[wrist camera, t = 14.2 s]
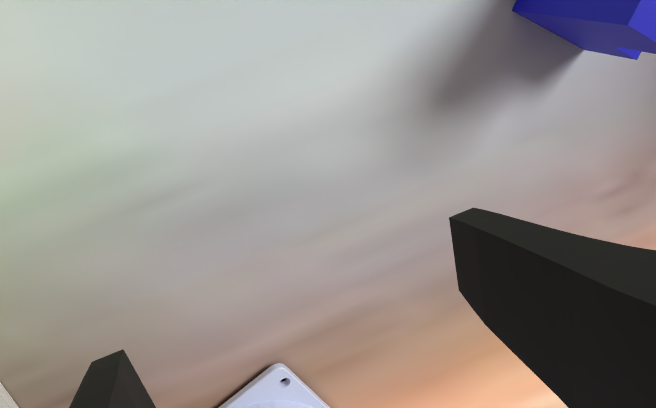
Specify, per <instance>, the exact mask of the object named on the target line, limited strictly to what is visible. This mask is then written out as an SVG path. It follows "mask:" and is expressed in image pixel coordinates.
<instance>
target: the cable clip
mask: <svg viewBox="0 0 656 408" xmlns="http://www.w3.org/2000/svg"><path fill="white" fill-rule="evenodd" d="M512 11H514V12H516V13H517V14H519V15H521V16H523V17H525V18H527V19H529V20H530V21H532V22H534V23H536V24H538V25H540V26H542V27H543V28H545V29H547V30H549V31H551V32H553V33H555V34H556V35H558V36H560V37H562V38H564V39H566V40H567V41H569V42H571V43H573V44H575V45H577V46H579V47H580V48H582V49H584V50H588V51H594V52H599V53H604V54H609V55H614V56H620V57H625V58H630V59H635V60H637V59H638V57H639V55H640V53H641V51H642V52H648V53H654V54H656V0H517V1H516V3H515V5H514V7H513V10H512Z"/></svg>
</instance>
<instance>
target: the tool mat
mask: <svg viewBox="0 0 656 408" xmlns="http://www.w3.org/2000/svg"><path fill="white" fill-rule="evenodd" d="M0 408H19V407H18V406H17V404H16V403H15V402H14V400H13V399H12V397H11V396H10V395H9V393H8V392H7V391H6V389H5V388H4V387H3V385H2V384H1V382H0Z"/></svg>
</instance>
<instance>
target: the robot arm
mask: <svg viewBox="0 0 656 408" xmlns="http://www.w3.org/2000/svg"><path fill="white" fill-rule="evenodd" d="M449 220H450V227H451V235H452V242H453V250H454V257H455V265H456V272H457V280H458V287H459V291H460V292H461V294H462V295H463V296H464V298H465V299H466V300H467V302H468V303H469V304H470V306H471V307H472V308H473V310H474V311H475V312H476V313H477V315H478V316H479V317H480V318H481V320H482V321H483V322H484V323H485V325H486V326H487V327H488V328H489V329H490V330H491V331H492V332H493V333H494V334H495V335H496V336H497V337H498V338H499V339H500V340H501V341H502V342H503V343H504V344H505V345H506V346H507V347H508V348H509V349H510V350H511V351H512V352H513V353H514V354H515V355H516V356H517V357H518V358H519V359H520V360H521V361H522V362H523V363H524V364H525V365H526V366H528V367H529V368H530V369H531V370H532V371H533V372H534V373H535V374H536V375H537V376H538V377H539V378H540V379H541V380H542V381H543V382H544V383H545V384H546V385H547V386H548V387H549V388H550V389H551V390H552V391H553V392H554V393H555V394H556V395H557V396H558V397H559V398H560V399H561V400H562V401H563V402H564V403H565V404H566V405H567V407H568V408H656V250H649V249H642V248H637V247H631V246H626V245H621V244H616V243H611V242H607V241H602V240H597V239H593V238H588V237H584V236H580V235H576V234H572V233H568V232H564V231H560V230H556V229H552V228H549V227H545V226H541V225H538V224H534V223H530V222H527V221H523V220H520V219H516V218H513V217H509V216H505V215H502V214H498V213H494V212H490V211H486V210H482V209H477V208H472V209H469V210H467V211H464V212H462V213H459V214H457V215H454V216H452V217H449ZM284 378H287V379H286V380H285V381H281V380H282V379H284ZM280 381H281V382H280ZM69 408H156V407H155V405H154V403H153V402H152V400H151V398H150V396H149V394H148V393H147V391H146V389H145V387H144V385H143V384H142V382H141V380H140V378H139V377H138V375H137V373H136V371H135V369H134V368H133V366H132V364H131V362H130V360H129V359H128V357H127V355H126V353H125V351H124V350H120V351H118V352H115V353H113V354H110V355H108V356H106V357H103V358H101V359H98V360H96V361H93V362H92V363H91V365H90V367H89V369H88V371H87V372H86V374H85V376H84V378H83V380H82V382H81V384H80V387H79V389H78V391H77V393H76V395H75V397H74V399H73V401H72V403H71V405H70V407H69ZM219 408H330V407H329V406H328V405H327V404H326V403H325V402H324V401H323V400H322V399H320V398H319V397H318V396H317V395H316V394H315V393H314V392H313V391H312V390H311V389H310V388H309V387H308V386H307V385H306V384H305V383H303V382H302V381H301V380H300V379H299V378H298V377H297V376H296V375H295V374H294V373H293V372H292V371H291V370H290V369H289V368H287V367H286V366H285V365H284V364H281V363H277V364H274V365H272V366H270V367H269V368H268V369H266V370H265V371H264V372H263V373H261V374H260V375H259V376H258V377H256V378H255V379H254V380H253V381H251V382H250V383H249V384H248V385H246V386H245V387H244V388H243V389H241V390H240V391H239V392H237V393H236V394H235V395H234V396H232V397H231V398H230V399H229V400H227V401H226V402H225V403H224V404H222V405H221V406H220V407H219Z"/></svg>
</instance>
